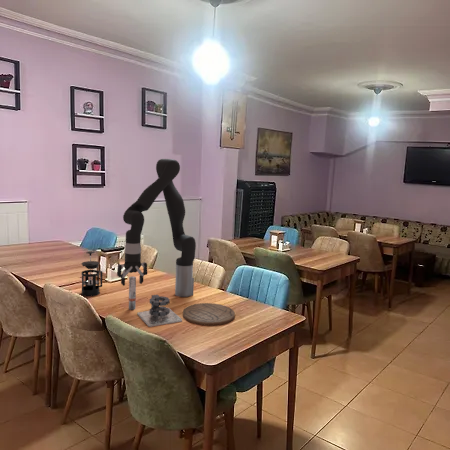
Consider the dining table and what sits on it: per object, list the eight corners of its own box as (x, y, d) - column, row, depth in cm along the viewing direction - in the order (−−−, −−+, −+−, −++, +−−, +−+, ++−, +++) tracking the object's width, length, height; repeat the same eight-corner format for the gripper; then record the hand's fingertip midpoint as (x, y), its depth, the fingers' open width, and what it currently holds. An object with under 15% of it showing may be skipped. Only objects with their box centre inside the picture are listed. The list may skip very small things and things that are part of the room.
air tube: (134, 307, 203) (134, 276, 200) (136, 309, 200) (137, 277, 197) (127, 308, 201) (128, 276, 198) (129, 310, 198) (130, 278, 196)
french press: (84, 298, 212) (84, 254, 208) (77, 293, 219) (76, 251, 215) (105, 293, 220) (105, 252, 216) (97, 289, 227) (97, 248, 223)
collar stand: (168, 309, 202) (169, 292, 200) (182, 321, 188) (182, 302, 186) (137, 314, 194) (137, 296, 192) (148, 327, 180) (149, 307, 178)
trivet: (206, 303, 214) (207, 299, 214) (244, 316, 199) (245, 312, 199) (171, 315, 195) (172, 311, 195) (211, 331, 180) (211, 327, 179)
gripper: (144, 249, 203) (143, 280, 205) (115, 250, 195) (115, 283, 198) (149, 252, 196) (148, 285, 199) (120, 254, 189) (119, 288, 192)
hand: (132, 284), depth 198 cm, fingers open, 8 cm apart
